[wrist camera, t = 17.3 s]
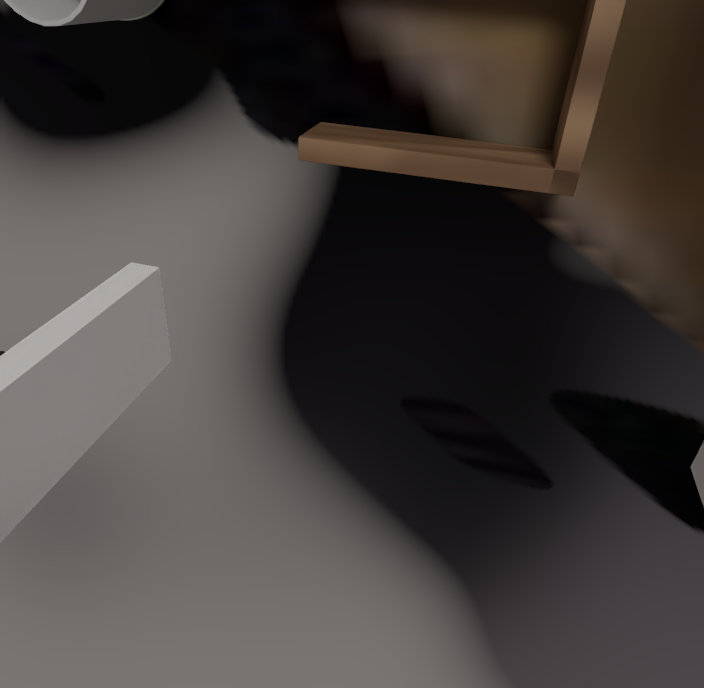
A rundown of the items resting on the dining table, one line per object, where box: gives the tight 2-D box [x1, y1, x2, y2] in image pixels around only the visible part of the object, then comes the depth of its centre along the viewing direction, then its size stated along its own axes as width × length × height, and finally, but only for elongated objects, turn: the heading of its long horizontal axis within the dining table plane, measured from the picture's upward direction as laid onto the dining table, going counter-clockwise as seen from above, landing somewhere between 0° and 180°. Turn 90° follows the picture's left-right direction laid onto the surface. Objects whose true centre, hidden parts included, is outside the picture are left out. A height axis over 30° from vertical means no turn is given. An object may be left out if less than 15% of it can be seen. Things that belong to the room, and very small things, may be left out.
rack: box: [299, 0, 626, 196], centre depth 36 cm, size 15×18×5 cm
